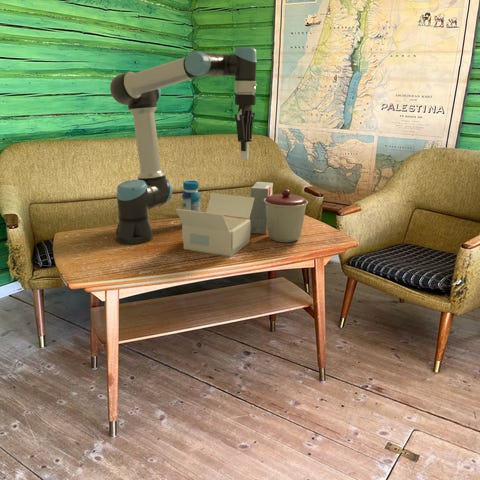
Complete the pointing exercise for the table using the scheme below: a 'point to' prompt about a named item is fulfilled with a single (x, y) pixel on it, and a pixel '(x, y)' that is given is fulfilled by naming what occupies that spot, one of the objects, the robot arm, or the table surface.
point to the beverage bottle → (191, 196)
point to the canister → (285, 216)
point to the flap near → (203, 219)
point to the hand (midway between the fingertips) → (244, 159)
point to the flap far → (230, 205)
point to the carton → (218, 237)
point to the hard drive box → (259, 207)
